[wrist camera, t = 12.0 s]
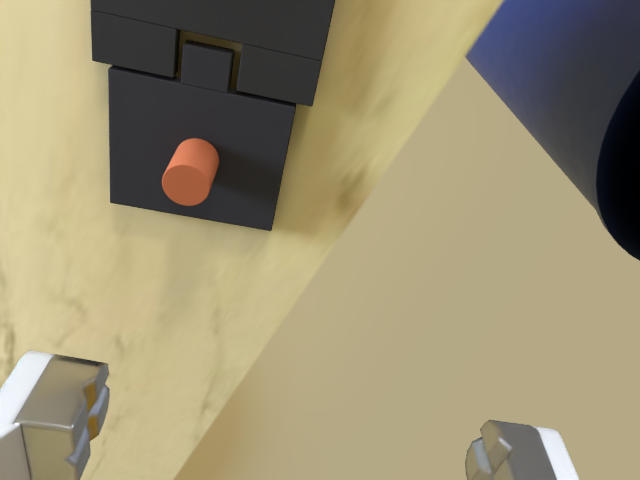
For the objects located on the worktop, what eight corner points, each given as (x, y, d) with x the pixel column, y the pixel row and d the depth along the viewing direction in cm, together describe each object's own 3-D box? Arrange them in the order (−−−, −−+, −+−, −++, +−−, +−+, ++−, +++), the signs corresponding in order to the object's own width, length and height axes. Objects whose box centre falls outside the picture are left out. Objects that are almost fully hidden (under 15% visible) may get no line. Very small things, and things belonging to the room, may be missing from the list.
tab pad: (303, 64, 34) (301, 91, 29) (272, 223, 40) (267, 263, 36) (113, 23, 32) (82, 44, 28) (115, 194, 39) (90, 233, 35)
